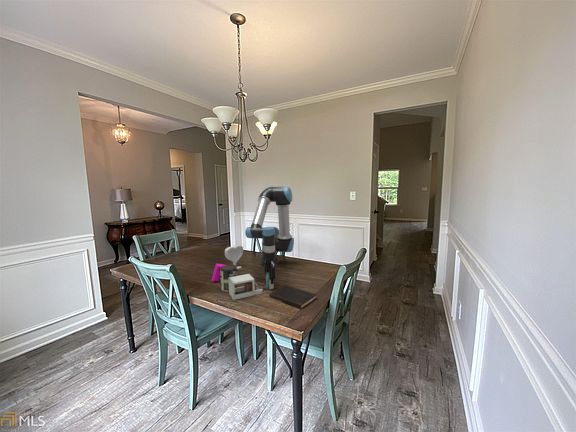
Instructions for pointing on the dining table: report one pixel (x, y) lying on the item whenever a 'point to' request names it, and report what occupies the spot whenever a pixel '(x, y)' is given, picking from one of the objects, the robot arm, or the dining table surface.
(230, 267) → the coffee can
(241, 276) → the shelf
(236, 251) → the heart sculpture
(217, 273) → the toy block
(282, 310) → the dining table surface
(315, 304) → the dining table surface
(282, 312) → the dining table surface
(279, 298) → the hardcover book
